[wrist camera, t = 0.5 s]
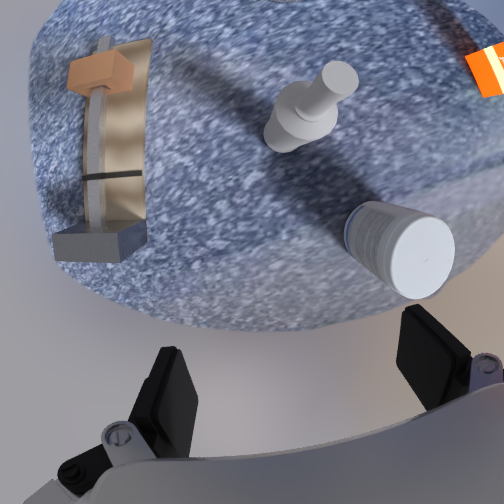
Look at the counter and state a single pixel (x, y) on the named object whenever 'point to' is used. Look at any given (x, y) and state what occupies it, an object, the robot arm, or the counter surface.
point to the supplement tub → (401, 247)
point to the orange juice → (488, 69)
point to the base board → (124, 140)
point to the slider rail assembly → (99, 198)
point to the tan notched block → (101, 73)
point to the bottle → (309, 107)
